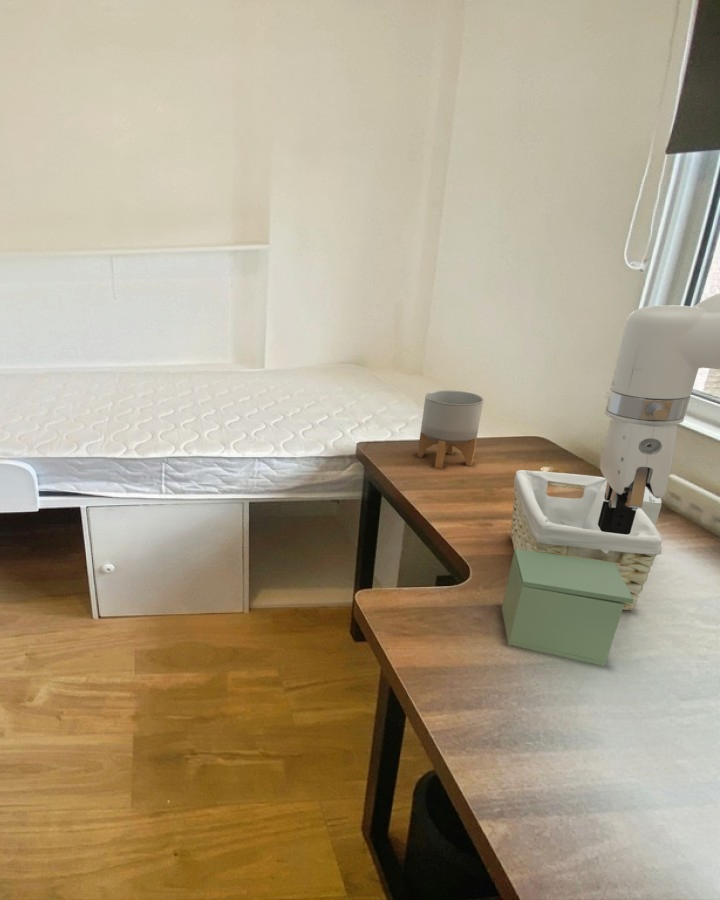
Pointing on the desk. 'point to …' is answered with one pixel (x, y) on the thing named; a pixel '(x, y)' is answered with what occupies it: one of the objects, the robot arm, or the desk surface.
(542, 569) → the lid
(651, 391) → the robot arm
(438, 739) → the desk surface
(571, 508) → the basket
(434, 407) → the planter
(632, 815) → the desk surface
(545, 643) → the chest
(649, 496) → the ink box
